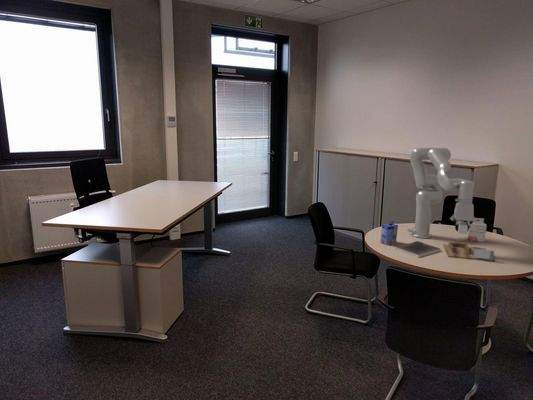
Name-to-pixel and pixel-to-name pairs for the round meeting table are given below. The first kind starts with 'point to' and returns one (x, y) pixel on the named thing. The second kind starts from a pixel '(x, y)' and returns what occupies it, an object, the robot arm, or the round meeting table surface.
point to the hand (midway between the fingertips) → (461, 230)
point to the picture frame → (417, 249)
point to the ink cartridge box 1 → (389, 233)
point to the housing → (462, 251)
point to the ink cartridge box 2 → (477, 230)
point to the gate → (483, 254)
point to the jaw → (462, 227)
